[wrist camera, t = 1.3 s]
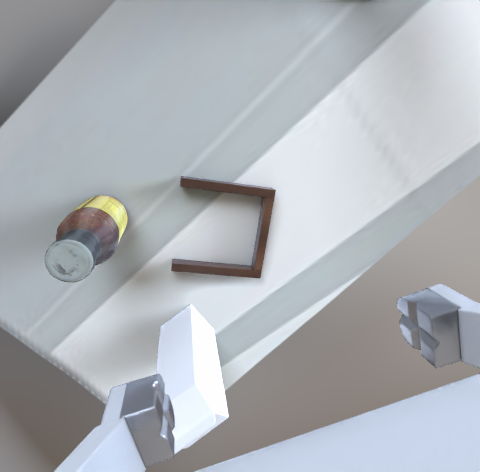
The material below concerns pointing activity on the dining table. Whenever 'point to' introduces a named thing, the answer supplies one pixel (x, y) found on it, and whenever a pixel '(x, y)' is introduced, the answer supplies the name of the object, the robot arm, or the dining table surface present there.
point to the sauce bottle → (86, 238)
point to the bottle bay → (261, 236)
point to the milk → (191, 376)
